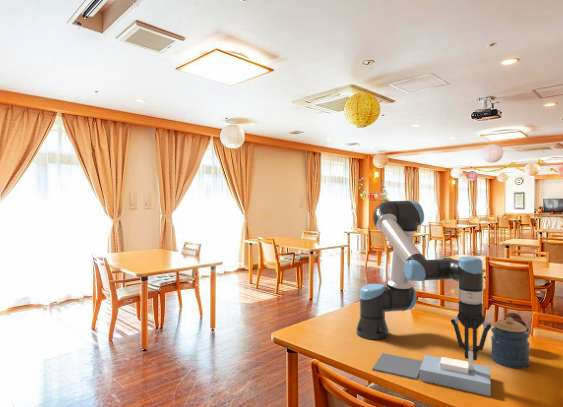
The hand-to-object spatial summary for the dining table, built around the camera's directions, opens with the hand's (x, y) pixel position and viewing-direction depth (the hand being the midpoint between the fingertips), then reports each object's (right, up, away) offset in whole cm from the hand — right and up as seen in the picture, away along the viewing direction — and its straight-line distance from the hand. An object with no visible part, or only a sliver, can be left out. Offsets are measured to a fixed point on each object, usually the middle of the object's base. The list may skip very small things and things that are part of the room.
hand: (470, 368), depth 128 cm
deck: (-4, -5, +2) cm, 7 cm away
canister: (+24, -5, +16) cm, 29 cm away
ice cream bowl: (+34, -5, +29) cm, 45 cm away
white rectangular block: (-5, -1, +2) cm, 5 cm away
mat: (-21, -5, +13) cm, 26 cm away
